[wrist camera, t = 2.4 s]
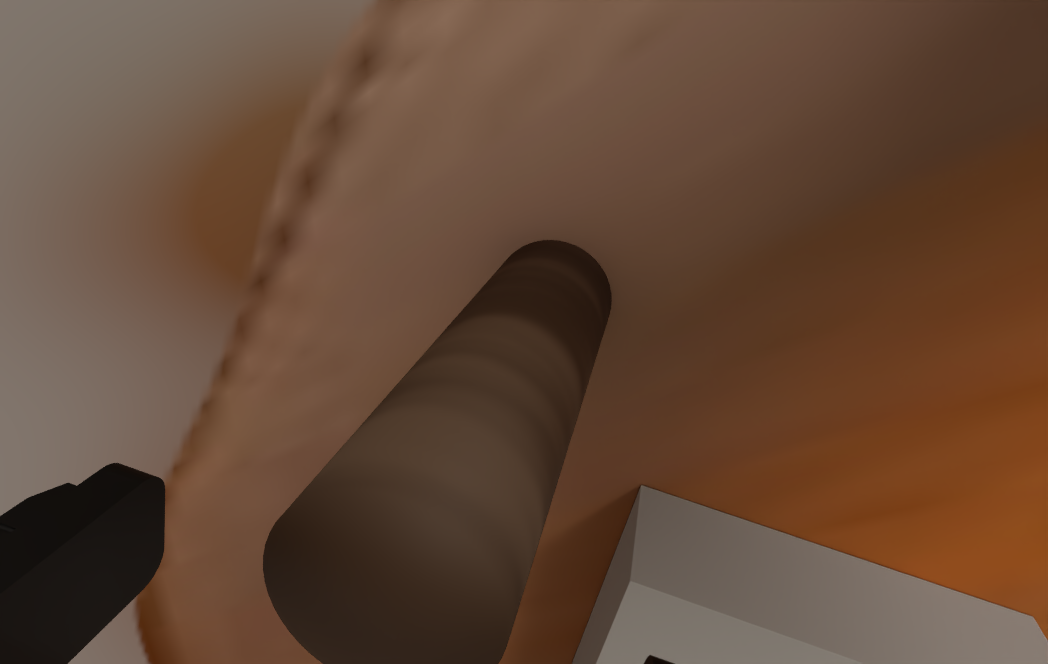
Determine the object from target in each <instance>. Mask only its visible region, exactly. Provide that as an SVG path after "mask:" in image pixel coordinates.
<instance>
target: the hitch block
mask: <svg viewBox="0 0 1048 664" xmlns="http://www.w3.org/2000/svg"><path fill="white" fill-rule="evenodd" d="M649 655H652V656H655V657H658V658H661V659H663V660H666V661H669V662H672V663H675V664H1048V641H1047V639H1046V637H1045V636H1044V634H1043V632H1042V631H1041V629H1040V628H1039V626H1038V624H1037V623H1036V621H1035V619H1034V618H1033V617H1032V616H1029V615H1026V614H1023V613H1020V612H1017V611H1014V610H1011V609H1008V608H1005V607H1002V606H999V605H996V604H993V603H990V602H987V601H984V600H981V599H978V598H975V597H972V596H969V595H966V594H963V593H961V592H958V591H955V590H952V589H949V588H946V587H943V586H940V585H937V584H934V583H931V582H928V581H925V580H922V579H919V578H916V577H913V576H910V575H907V574H904V573H901V572H898V571H895V570H892V569H889V568H886V567H883V566H880V565H877V564H874V563H872V562H869V561H866V560H863V559H860V558H857V557H854V556H851V555H848V554H845V553H842V552H839V551H836V550H833V549H830V548H827V547H824V546H821V545H818V544H815V543H812V542H809V541H806V540H803V539H800V538H797V537H794V536H791V535H788V534H785V533H782V532H780V531H777V530H774V529H771V528H768V527H765V526H762V525H759V524H756V523H753V522H750V521H747V520H744V519H741V518H738V517H735V516H732V515H729V514H726V513H723V512H720V511H717V510H714V509H711V508H708V507H705V506H702V505H699V504H696V503H693V502H691V501H688V500H685V499H682V498H679V497H676V496H673V495H670V494H667V493H664V492H661V491H658V490H655V489H652V488H649V487H646V486H643V485H641V487H640V489H639V492H638V494H637V497H636V499H635V502H634V505H633V507H632V510H631V512H630V515H629V518H628V520H627V523H626V525H625V528H624V530H623V533H622V536H621V538H620V541H619V543H618V546H617V548H616V551H615V554H614V556H613V559H612V561H611V564H610V566H609V569H608V572H607V574H606V577H605V579H604V582H603V585H602V587H601V590H600V592H599V595H598V597H597V600H596V603H595V605H594V608H593V610H592V613H591V615H590V618H589V621H588V623H587V626H586V628H585V631H584V633H583V636H582V639H581V641H580V644H579V646H578V649H577V652H576V654H575V657H574V659H573V662H572V664H644V662H645V660H646V659H647V657H648V656H649Z"/></svg>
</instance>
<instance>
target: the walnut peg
mask: <svg viewBox="0 0 1048 664" xmlns="http://www.w3.org/2000/svg"><path fill="white" fill-rule="evenodd" d="M610 310H611V290H610V285H609V282H608V279H607V277H606V275H605V273H604V271H603V269H602V268H601V266H600V265H599V264H598V263H597V261H596V260H595V259H594V258H593V257H592V256H591V255H589V254H588V253H587V252H585V251H584V250H582V249H581V248H579V247H577V246H575V245H572V244H569V243H566V242H562V241H555V240H543V241H537V242H534V243H530V244H528V245H526V246H523V247H521V248H520V249H518V250H517V251H515V252H514V253H513V254H512V255H511V256H510V257H509V258H508V259H507V260H506V261H505V263H504V264H503V265H502V266H501V267H500V268H499V269H498V270H497V272H496V273H495V274H494V275H493V276H492V277H491V278H490V280H489V281H488V282H487V283H486V284H485V285H484V286H483V288H482V289H481V290H480V291H479V292H478V293H477V294H476V295H475V297H474V298H473V299H472V300H471V301H470V302H469V303H468V305H467V306H466V307H465V308H464V309H463V310H462V311H461V313H460V314H459V315H458V316H457V317H456V318H455V319H454V320H453V322H452V323H451V324H450V325H449V326H448V327H447V328H446V330H445V331H444V332H443V333H442V334H441V335H440V336H439V337H438V339H437V340H436V341H435V342H434V343H433V344H432V345H431V347H430V348H429V349H428V350H427V351H426V352H425V353H424V355H423V356H422V357H421V358H420V359H419V360H418V361H417V362H416V364H415V365H414V366H413V367H412V368H411V369H410V370H409V372H408V373H407V374H406V375H405V376H404V377H403V378H402V380H401V381H400V382H399V383H398V384H397V385H396V386H395V387H394V389H393V390H392V391H391V392H390V393H389V394H388V395H387V397H386V398H385V399H384V400H383V401H382V402H381V403H380V405H379V406H378V407H377V408H376V409H375V410H374V411H373V412H372V414H371V415H370V416H369V417H368V418H367V419H366V420H365V422H364V423H363V424H362V425H361V426H360V427H359V428H358V430H357V431H356V432H355V433H354V434H353V435H352V436H351V437H350V439H349V440H348V441H347V442H346V443H345V444H344V445H343V447H342V448H341V449H340V450H339V451H338V452H337V453H336V455H335V456H334V457H333V458H332V459H331V460H330V461H329V462H328V464H327V465H326V466H325V467H324V468H323V469H322V470H321V472H320V473H319V474H318V475H317V476H316V477H315V478H314V480H313V481H312V482H311V483H310V484H309V485H308V486H307V487H306V489H305V490H304V491H303V492H302V493H301V494H300V495H299V497H298V498H297V499H296V500H295V501H294V502H293V503H292V505H291V506H290V507H289V508H288V509H287V510H286V511H285V512H284V514H283V515H282V516H281V517H280V518H279V519H278V520H277V522H276V523H275V525H274V526H273V528H272V530H271V531H270V533H269V536H268V539H267V541H266V544H265V550H264V555H263V571H264V578H265V584H266V587H267V591H268V594H269V597H270V599H271V601H272V604H273V606H274V608H275V610H276V612H277V614H278V615H279V617H280V619H281V620H282V622H283V623H284V625H285V626H286V627H287V629H288V630H289V632H290V633H291V634H292V635H293V636H294V637H295V639H296V640H297V641H298V642H299V643H300V644H301V645H302V646H303V647H304V648H305V649H306V650H307V651H308V652H309V653H310V654H311V655H313V656H314V657H315V658H316V659H318V660H319V661H320V662H321V663H323V664H498V663H499V661H500V660H501V658H502V656H503V654H504V651H505V649H506V647H507V643H508V640H509V637H510V634H511V630H512V627H513V624H514V621H515V618H516V614H517V611H518V608H519V605H520V601H521V598H522V595H523V592H524V588H525V585H526V582H527V579H528V576H529V572H530V569H531V566H532V563H533V559H534V556H535V553H536V550H537V547H538V543H539V540H540V537H541V534H542V530H543V527H544V524H545V521H546V517H547V514H548V511H549V508H550V505H551V501H552V498H553V495H554V492H555V488H556V485H557V482H558V479H559V475H560V472H561V469H562V466H563V463H564V459H565V456H566V453H567V450H568V446H569V443H570V440H571V437H572V434H573V430H574V427H575V424H576V421H577V417H578V414H579V411H580V408H581V404H582V401H583V398H584V395H585V392H586V388H587V385H588V382H589V379H590V375H591V372H592V369H593V366H594V362H595V359H596V356H597V353H598V350H599V346H600V343H601V340H602V337H603V333H604V330H605V327H606V324H607V321H608V317H609V314H610Z"/></svg>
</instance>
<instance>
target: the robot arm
mask: <svg viewBox="0 0 1048 664" xmlns="http://www.w3.org/2000/svg"><path fill="white" fill-rule="evenodd" d="M164 527H165V485H164V482H163V480H162V479H161V478H159V477H156V476H153V475H150V474H147V473H144V472H142V471H139V470H136V469H133V468H131V467H128V466H125V465H122V464H119V463H113V464H109V465H107V466H105V467H103V468H102V469H100V470H99V471H98V472H96V473H95V474H93V475H92V476H90V477H89V478H87V479H86V480H85V481H83V482H82V483H81V484H79V485H78V486H76V485H73V484H70V483H66V484H63V485H61V486H58V487H55V488H53V489H50V490H47V491H45V492H42V493H40V494H37V495H34V496H31V497H29V498H27V499H26V500H24V501H22V502H21V503H19V504H18V505H16V506H15V507H13V508H12V509H10V510H9V511H7V512H6V513H4V514H3V515H1V516H0V664H68V662H70V661H71V659H73V658H74V657H75V656H76V655H77V654H78V653H79V652H80V651H81V650H82V649H83V648H84V647H85V646H86V645H87V644H88V643H89V642H90V641H91V640H92V639H93V638H94V637H95V636H96V635H97V634H98V633H99V632H100V631H101V630H102V629H103V628H104V627H105V626H106V625H107V624H108V623H109V622H110V621H112V619H113V618H115V617H116V616H117V615H118V613H119V612H121V611H122V610H123V609H124V608H125V607H126V605H128V604H129V603H130V602H131V601H132V600H133V599H134V598H135V597H136V596H137V595H138V594H139V593H140V592H141V591H142V590H143V589H144V588H145V587H146V586H147V585H148V583H149V582H150V581H151V579H152V578H153V576H154V575H155V573H156V571H157V569H158V567H159V565H160V563H161V560H162V557H163V553H164ZM644 664H675V663H672V662H669V661H666V660H663V659H661V658H658V657H655V656H652V655H649V656H648V657H647V659H646V660H645V662H644Z"/></svg>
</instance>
